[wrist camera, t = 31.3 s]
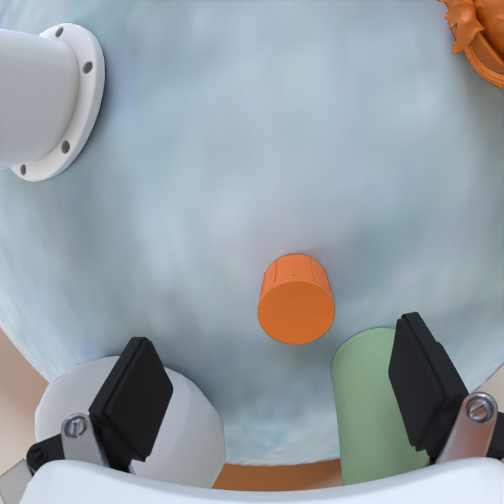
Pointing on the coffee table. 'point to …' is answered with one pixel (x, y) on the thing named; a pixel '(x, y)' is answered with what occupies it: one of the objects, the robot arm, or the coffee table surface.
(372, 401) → the bottle
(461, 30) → the orange sculpture
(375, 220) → the coffee table surface
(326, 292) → the cap
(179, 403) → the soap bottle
